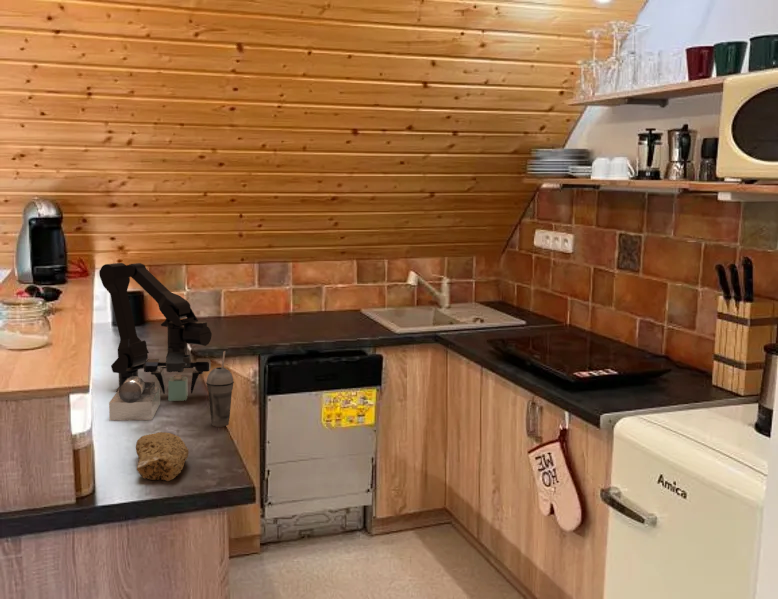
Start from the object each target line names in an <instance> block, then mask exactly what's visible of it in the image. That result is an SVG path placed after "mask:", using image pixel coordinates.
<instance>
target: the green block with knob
mask: <svg viewBox="0 0 778 599" xmlns="http://www.w3.org/2000/svg"><path fill="white" fill-rule="evenodd" d="M188 380H189V379H188V376H183V374H174V375H173V376H169V379H168V381H167V384H168V387H167V390H168V396H167V397H168V402H174V401H175V402H177V401H178V402H181V401H182V402H184V400H185V402H186V401H187V399H188V397H187V396H188V393H189V391H188V390H189V388H188V387H189V386H188V385H189V384H188Z"/></svg>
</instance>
